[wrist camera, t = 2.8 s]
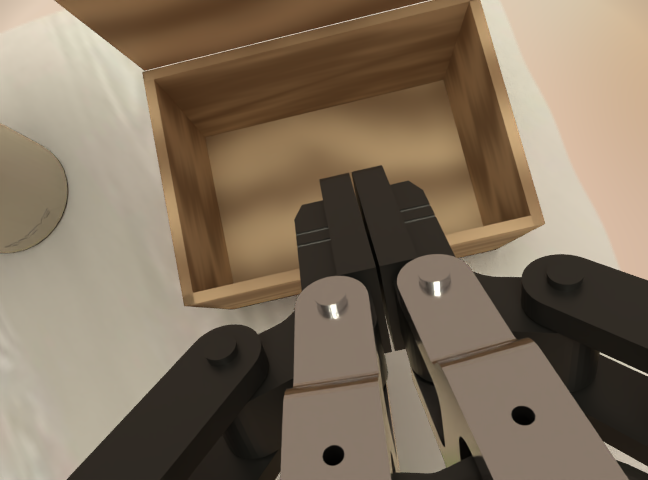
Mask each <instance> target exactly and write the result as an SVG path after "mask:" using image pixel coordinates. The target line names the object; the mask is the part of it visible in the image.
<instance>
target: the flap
mask: <svg viewBox="0 0 648 480" xmlns="http://www.w3.org/2000/svg"><path fill="white" fill-rule="evenodd" d="M55 1H56V2H57V3H58V4H60V5H61V6H62V7H64V8H65V9H66V10H67V11H69V12H70V13H71V14H73V15H74V16H75V17H76V18H78V19H79V20H80V21H82V22H83V23H84V24H85V25H87V26H88V27H89V28H91V29H92V30H93V31H94V32H96V33H97V34H98V35H100V36H101V37H102V38H103V39H105V40H106V41H107V42H109V43H110V44H111V45H112V46H114V47H115V48H116V49H118V50H119V51H120V52H121V53H123V54H124V55H125V56H127V57H128V58H129V59H130V60H132V61H133V62H134V63H136V64H137V65H138V66H139V67H141V68H142V69H143V70H144V71H145V70H149V69H153V68H157V67H161V66H165V65H169V64H173V63H177V62H181V61H185V60H189V59H193V58H197V57H201V56H205V55H209V54H213V53H217V52H221V51H226V50H230V49H234V48H238V47H242V46H246V45H250V44H254V43H258V42H262V41H266V40H270V39H274V38H278V37H282V36H286V35H290V34H294V33H298V32H302V31H306V30H310V29H314V28H319V27H323V26H327V25H331V24H335V23H339V22H343V21H347V20H351V19H355V18H359V17H363V16H367V15H371V14H375V13H379V12H383V11H387V10H391V9H395V8H399V7H403V6H407V5H412V4H416V3H420V2H424V1H428V0H55Z"/></svg>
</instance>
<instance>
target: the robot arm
mask: <svg viewBox="0 0 648 480" xmlns="http://www.w3.org/2000/svg"><path fill="white" fill-rule="evenodd" d="M352 179H353V184H354V188H353V185H352V181H351V177H350V174H349V173H345V174H340V175H336V176H332V177H327V178H323V179H319V182H320V187H321V192H322V198H323V200H321V201H317V202H312V203H308V204H304V205H301V207H300V209H299V211H298V213H297V215H296V217H295V219H294V222H295V231H296V241H297V251H298V261H299V270H300V280H301V290H302V292H301V293H300V295H299V296H298V298H297V301H296V304H295V311H294V312H293V313H292V314H291V315H290V316H289V317H288V318H287V319H286V320H284V321H283V322H282V323H280V324H278V325H276V326H275V327H273V328H271V329H269V330H267V331H264V332H262V333H260V334H257V333H256V332H255V331H254V330H253V329H251V328H249V327H247V326H243V325H226V326H222V327H218V328H216V329H213V330H211V331H209V332H208V333H206V334H204V335H203V336H202V337H200V338H199V339H198V340H197V341H196V342H195V343H194V344H193V345H192V346H191V347H190V348H189V349H188V351H187V352H186V353H185V354H184V355H183V356H182V357H181V358H180V359H179V360H178V361H177V362H176V363H175V364H174V366H173V367H172V368H171V369H170V370H169V371H168V372H167V373H166V374H165V375H164V376H163V377H162V378H161V379H160V380H159V382H158V383H157V384H156V385H155V386H154V387H153V388H152V389H151V390H150V391H149V392H148V393H147V394H146V395H145V396H144V398H143V399H142V400H141V401H140V402H139V403H138V404H137V405H136V406H135V407H134V408H133V409H132V410H131V411H130V413H129V414H128V415H127V416H126V417H125V418H124V419H123V420H122V421H121V422H120V423H119V424H118V425H117V426H116V427H115V429H114V430H113V431H112V432H111V433H110V434H109V435H108V436H107V437H106V438H105V439H104V440H103V441H102V442H101V443H100V445H99V446H98V447H97V448H96V449H95V450H94V451H93V452H92V453H91V454H90V455H89V456H88V457H87V458H86V459H85V461H84V462H83V463H82V464H81V465H80V466H79V467H78V468H77V469H76V470H75V471H74V472H73V473H72V474H71V476H70V477H69V478H68V479H67V480H275V479H276V477H277V476H278V474H279V473H280V471H281V474H280V480H648V474H647V473H645V472H643V471H641V470H639V469H637V468H634V467H632V466H630V465H628V464H625V463H623V462H620V461H617V460H615V458H614V457H613V455H612V454H611V453H610V451H609V450H608V448H607V447H606V445H605V444H604V442H605V443H607V444H609V445H611V446H612V447H614V448H616V449H618V450H620V451H621V452H623V453H625V454H627V455H629V456H630V457H632V458H634V459H636V460H637V461H639V462H641V463H643V464H645V465H646V466H648V376H645V375H643V374H641V373H639V372H637V371H634V370H632V369H630V368H628V367H626V366H624V365H621V364H619V363H617V362H615V361H613V360H611V359H608V358H606V357H604V356H602V355H600V354H599V353H600V352H601V353H603V354H606V355H608V356H610V357H612V358H614V359H617V360H619V361H621V362H623V363H625V364H627V365H630V366H632V367H634V368H636V369H638V370H641V371H643V372H645V373H647V374H648V280H645V279H642V278H639V277H636V276H633V275H630V274H628V273H625V272H622V271H619V270H616V269H613V268H611V267H608V266H605V265H602V264H599V263H596V262H593V261H591V260H588V259H585V258H582V257H578V256H573V255H564V254H559V255H549V256H545V257H541V258H539V259H536V260H535V261H533V262H531V263H530V264H529V265H528V266H527V267H526V268H525V270H524V272H523V274H522V277H491V276H485V275H481V274H478V273H475V272H473V271H472V270H471V268H470V267H469V266H468V265H467V264H466V263H465V262H464V261H462V260H461V259H459V258H456V257H455V255H454V253H453V251H452V249H451V247H450V245H449V243H448V240H447V238H446V236H445V234H444V232H443V230H442V228H441V226H440V224H439V222H438V220H437V218H436V217H435V214H434V211H433V209H432V207H431V206H430V203H429V201H428V199H427V197H426V195H425V193H424V191H423V190H422V189H421V188H419V187H418V186H416V185H415V184H413V183H412V182H410V181H404V182H400V183H395V184H391V185H390V184H389V181H388V179H387V176H386V174H385V171H384V169H383V166H382V165H379V166H375V167H371V168H366V169H362V170H357V171H353V172H352ZM354 189H355V192H354ZM67 193H68V192H67V180H66V177H65V173H64V170H63V168H62V166H61V164H60V163H59V161H58V159H57V158H56V157H55V156H54V155H53V154H52V153H51V152H50V151H49V150H48V149H46V148H45V147H43V146H42V145H40V144H38V143H36V142H34V141H32V140H31V139H29V138H27V137H25V136H23V135H21V134H19V133H18V132H16V131H14V130H12V129H10V128H9V127H7V126H5V125H3V124H1V123H0V253H14V252H18V251H22V250H26V249H28V248H30V247H32V246H34V245H36V244H38V243H39V242H40V241H42V240H43V239H44V238H46V237H47V236H48V235H49V234H50V233H51V231H52V230H53V229H54V228H55V227H56V225H57V223H58V222H59V220H60V218H61V217H62V214H63V211H64V208H65V206H66V200H67ZM355 194H356V195H355ZM385 316H386V318H385ZM386 320H387V323H386ZM387 324H388V327H389V331H390V335H391V338H392V342H393V345H394V349H395V351H397V350H402V349H406V351H407V355H408V358H409V361H410V367H411V373H412V379H413V382H414V385H415V388H416V390H417V393H418V395H419V398H420V400H421V403H422V405H423V408H424V410H425V413H426V416H427V418H428V421H429V423H430V426H431V428H432V431H433V433H434V436H435V438H436V441H437V444H438V446H439V449H440V451H441V454H442V456H443V459H444V462H445V465H446V468H445V469H443V470H441V471H439V472H436V473H430V474H424V473H401V472H400V467H399V460H398V454H397V447H396V440H395V433H394V427H393V420H392V413H391V406H390V399H389V393H388V387H387V382H386V381H387V377H388V371H387V365H386V360H385V355H384V353H389V352H392V350H391V345H390V339H389V334H388V329H387Z"/></svg>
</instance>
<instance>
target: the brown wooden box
mask: <svg viewBox="0 0 648 480" xmlns="http://www.w3.org/2000/svg"><path fill="white" fill-rule="evenodd" d="M142 73H143V79H144V84H145V90H146V96H147V101H148V107H149V112H150V118H151V123H152V129H153V135H154V140H155V146H156V151H157V157H158V162H159V168H160V174H161V179H162V185H163V190H164V196H165V201H166V207H167V213H168V218H169V224H170V229H171V235H172V240H173V246H174V251H175V257H176V263H177V268H178V274H179V279H180V285H181V290H182V296H183V302H184V306H191V307H205V308H220V309H236V308H241V307H245V306H249V305H254V304H258V303H263V302H267V301H271V300H276V299H280V298H285V297H289V296H293V295H298V294H300V293H301V292H302V290H301V280H300V270H299V261H298V251H297V241H296V231H295V222H294V219H295V217H296V215H297V213H298V211H299V209H300V207H301V205H304V204H308V203H312V202H317V201H321V200H323V198H322V192H321V187H320V182H319V179H323V178H327V177H332V176H336V175H340V174H345V173H349V174H350V177H351V181H352V185H353V188H354V184H353V179H352V172H353V171H357V170H362V169H366V168H371V167H375V166H379V165H382V166H383V169H384V171H385V174H386V176H387V179H388V181H389V184H390V185H391V184H395V183H400V182H404V181H410V182H412V183H413V184H415V185H416V186H418V187H419V188H421V189H422V190H423V191H424V193H425V195H426V197H427V199H428V201H429V203H430V206H431V207H432V209H433V211H434V214H435V217H436V218H437V220H438V222H439V224H440V226H441V228H442V230H443V232H444V234H445V236H446V238H447V240H448V243H449V245H450V247H451V249H452V251H453V253H454V255H455V257H456V258H461V257H465V256H469V255H474V254H478V253H483V252H487V251H491V250H496V249H498V248H500V247H502V246H504V245H506V244H507V243H509V242H511V241H513V240H515V239H517V238H519V237H521V236H523V235H525V234H526V233H528V232H530V231H532V230H534V229H536V228H538V227H540V226H542V225H544V224H545V221H544V218H543V215H542V211H541V208H540V204H539V201H538V197H537V194H536V190H535V187H534V184H533V180H532V177H531V173H530V170H529V166H528V163H527V160H526V156H525V153H524V149H523V146H522V142H521V139H520V135H519V132H518V129H517V125H516V122H515V118H514V115H513V111H512V108H511V105H510V101H509V98H508V94H507V91H506V87H505V84H504V81H503V77H502V74H501V70H500V67H499V63H498V60H497V56H496V53H495V50H494V46H493V43H492V39H491V36H490V32H489V29H488V26H487V22H486V19H485V15H484V12H483V8H482V5H481V1H480V0H433V1H429V2H425V3H421V4H416V5H412V6H408V7H404V8H400V9H396V10H392V11H388V12H384V13H380V14H376V15H372V16H368V17H364V18H360V19H356V20H352V21H348V22H344V23H340V24H336V25H332V26H327V27H323V28H319V29H315V30H311V31H307V32H303V33H299V34H295V35H291V36H287V37H283V38H279V39H275V40H271V41H267V42H263V43H259V44H255V45H251V46H247V47H243V48H239V49H234V50H230V51H226V52H222V53H218V54H214V55H210V56H206V57H202V58H198V59H194V60H190V61H186V62H182V63H178V64H174V65H170V66H166V67H162V68H158V69H154V70H150V71H145V72H142ZM354 192H355V189H354ZM355 195H356V194H355Z"/></svg>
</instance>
